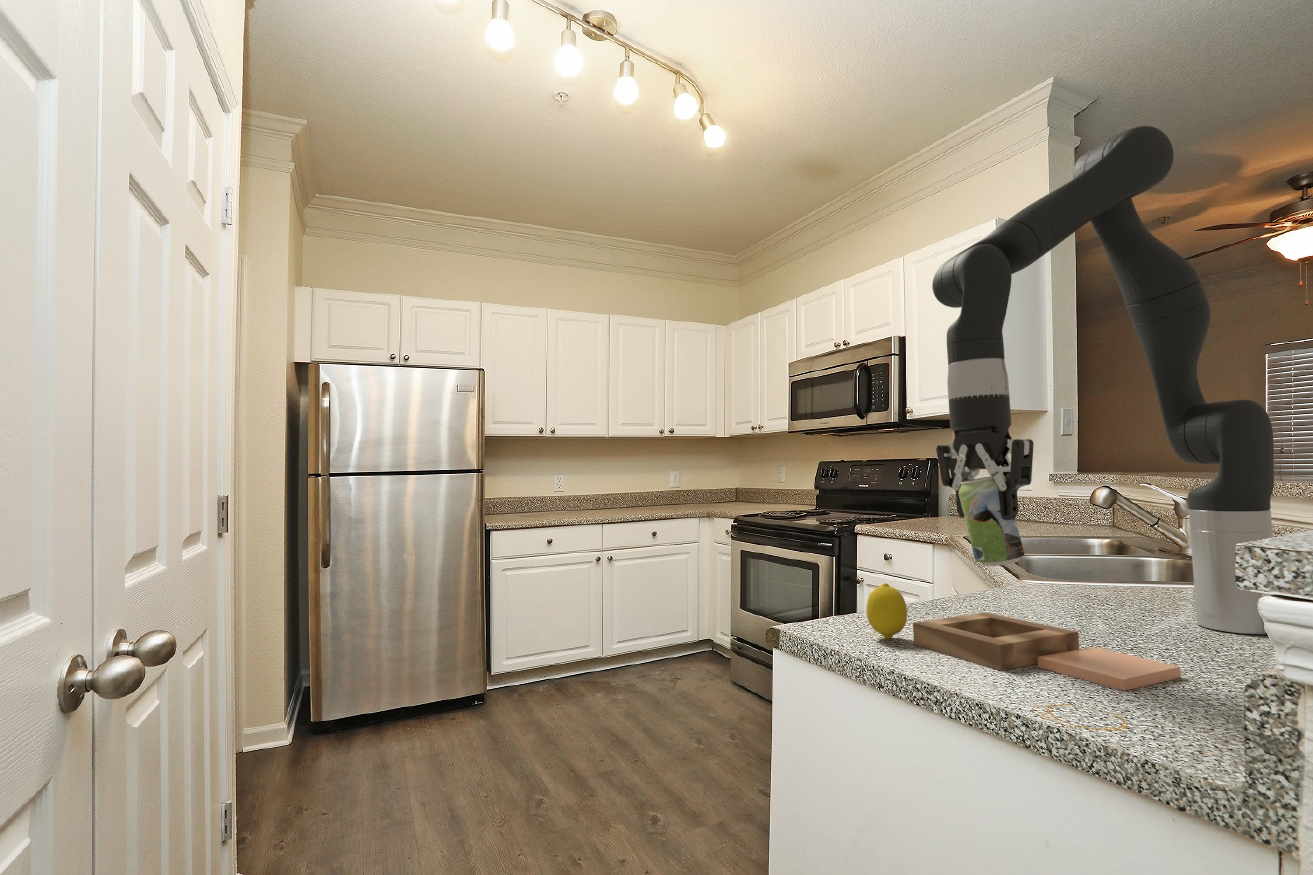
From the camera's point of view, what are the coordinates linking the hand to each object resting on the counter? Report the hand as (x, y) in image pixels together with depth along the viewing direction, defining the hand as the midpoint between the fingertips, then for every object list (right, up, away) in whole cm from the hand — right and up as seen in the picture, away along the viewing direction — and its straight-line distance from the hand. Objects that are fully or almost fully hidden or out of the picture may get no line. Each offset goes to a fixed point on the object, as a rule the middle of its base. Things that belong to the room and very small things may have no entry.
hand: (986, 518), depth 89 cm
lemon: (-11, -18, +6) cm, 22 cm away
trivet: (+8, -17, -12) cm, 22 cm away
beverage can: (+1, -6, -1) cm, 6 cm away
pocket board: (0, -17, -1) cm, 17 cm away
